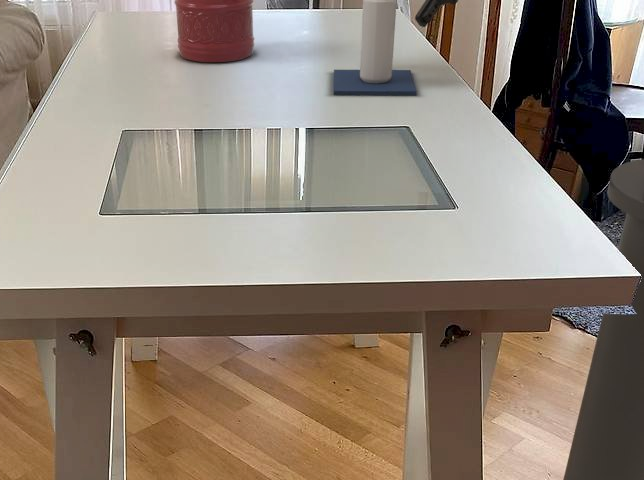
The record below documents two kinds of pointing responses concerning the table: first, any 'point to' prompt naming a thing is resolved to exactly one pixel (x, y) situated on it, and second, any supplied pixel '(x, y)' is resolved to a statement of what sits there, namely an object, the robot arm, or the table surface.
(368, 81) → the beverage can
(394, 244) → the table surface
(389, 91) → the drinks mat
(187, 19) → the kitchen canister
